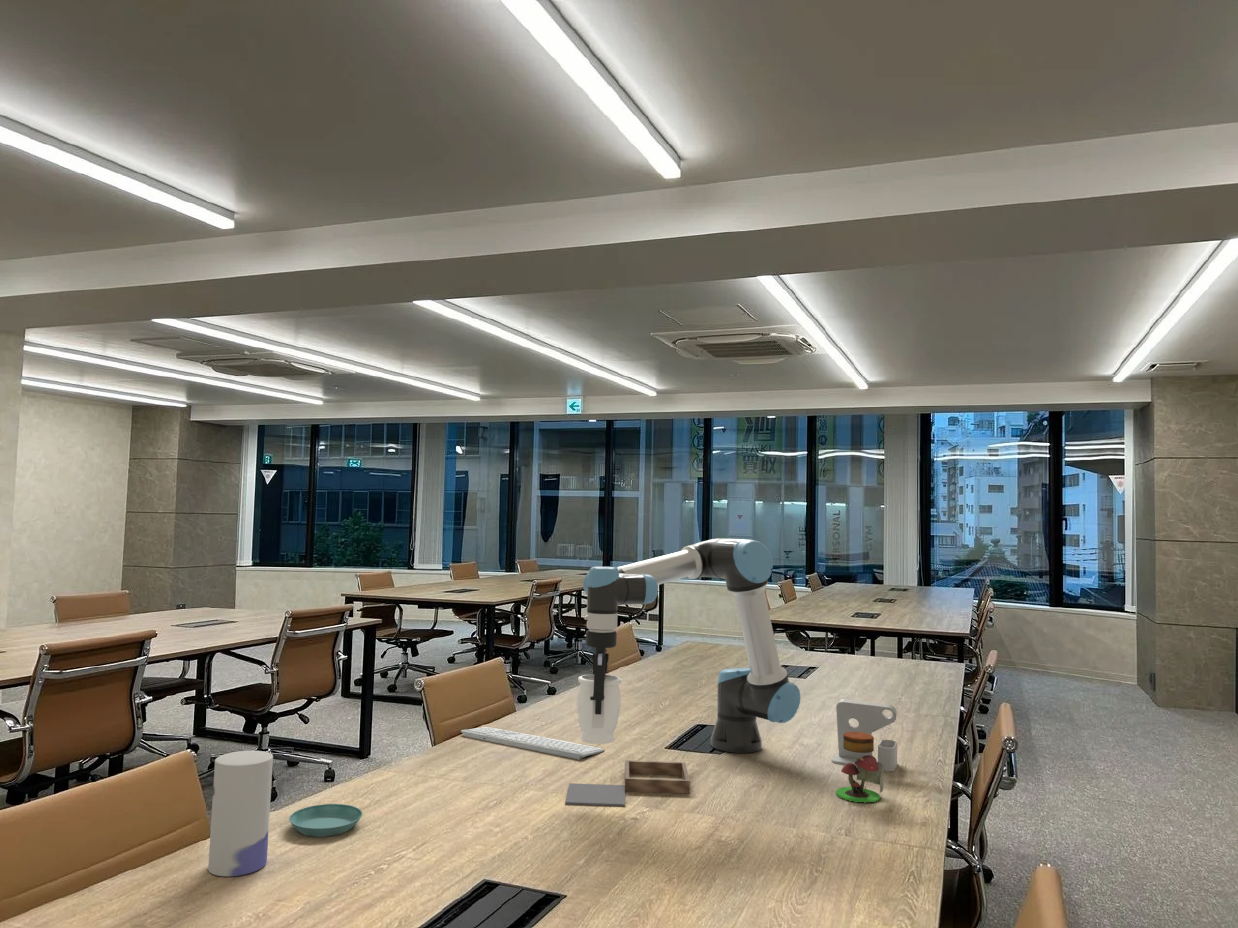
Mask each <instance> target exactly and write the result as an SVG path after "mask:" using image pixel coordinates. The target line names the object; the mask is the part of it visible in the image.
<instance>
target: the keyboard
mask: <svg viewBox="0 0 1238 928" xmlns="http://www.w3.org/2000/svg"><path fill="white" fill-rule="evenodd" d="M460 733H462V735H463V737H465V738H471V739H472V738H473V739H476V740H480V741H481V740H482V741H485V742H492V743H495V744H501V745H504V746H505V745H506V746H510V747H516V748H521V749H526V750H530V751H535V752H540V753H544V754H550V755H555V756H560V757H564V758H569V759H574V760H582V759H584V758H585V757H588V756H592V755H596V754H601V753H603V752H605V748H600V747H596V746H591V745H587V744H585V745H584V744H581V743H575V742H571V741H566V740H561V739H555V738H549V737H544V736H538V735H534V734H528V733H523V732H518V731H517V732H515V731H512V730H511V731H510V730H507V729H501V728H496V727H495V728H494V727H490V726H482V727H476V728H469V729H461V730H460Z"/></svg>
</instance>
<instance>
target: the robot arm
mask: <svg viewBox="0 0 1238 928" xmlns="http://www.w3.org/2000/svg"><path fill="white" fill-rule="evenodd" d="M773 567H774V563H773V556H772V553H771V552H770V550H769V549H768V547H767V546H766V545H765V544H764V543H762V542H761V541H759V540H753V539H749V538H724V537H717V538H716V537H715V538H710V539H708V540H703V541H699V542H697V543H693V544H690V545H689V544H688V545H686V546H683V547H682V548H681V549H680V551H676V552H673V553H669V554H664V555H661V556H656V557H653V558H649V559H645V560H641V561H637V562H634V563H633V562H632V563H629V564H624V565H621V566H617V567H615V566H614V567H613V566H592V567H590V569H589V570H588V572H587V573H586V575H585V576H584V578H583V582H582V585H583V586H582V587H583V591H584V593H585V594H586V595H587V597H586V598H587V600H586V601H587V603H586V605H587V607H586V615H584V617H583V619H584V620H585V621H586V628H587V629H588V630H586V632H585V645H586V647H589V648H595V652H592V656H591V657H592V658H591V659H592V672H593V673H592V674H594V693H593V697H590V700H593V710H592V728H603V723H604V680H605V675H606V674H607V672H608V663H609V658H610V657H609V655H610V653H607V652H608V651H607V649H612V648H615V647H616V646H617V632H616V631H615V630H617V629H618V609H619V607H618V606H623V605H625V606H626V605H641V606H643V605H646V604H651V603H653V602H654V601H655V600H656V598H657V597H658V593H659V589H658V588H659V587H658V586H659V585H662V584H666V583H670V582H674V581H679V580H680V579H684V578H688V579H692V580H694V579H698V578H717V579H721V580H722V579H723V580H725V584H726V588H727V591H728V592H729V593H731V594H733V595H734V599H735V605H736V609H737V614H738V618H739V624H740V628H741V633H742V636H743V641H744V647H745V650H746V656H747V660H748V666H749V667H737V668H736V667H735V668H732V667H731V668H724V669H722V670H720V671H719V674H718V680H717V681H718V682H717V716H716V722H715V724H714V727H713V731H712V734H711V736H710V745H711V747H712V748H714V749H716V750H719V751H722V752H728V753H736V754H749V753H756V752H759V751H760V750H761V749H762V744H763V743H762V741H763V740H762V738H761V734H760V730H759V726H758V724H757V718H760V719H763V720H767V721H769V722H771V723H778V724H786V723H788V722H790V721H791V720H792V719H793V718H794V717H795V716H796V714H797V713H798V709H799V708H800V704H801V691H800V689H799V687H798V686H797V685H796V684H795V683H794V682H791V681H790V680H789V676H788V672H787V669H786V668H784V667H782V666H781V663H780V660H779V654H778V653H779V652H778V650H777V644H776V641H775V633H774V630H773V625H772V621H771V615H770V612H769V611H770V610H769V606H768V602H767V597H766V592H765V588H766V586H767V585H768V584H769V580H768V579H769V578H770V577H771V574H772V570H773ZM596 693H601V694H596Z"/></svg>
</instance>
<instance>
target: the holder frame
mask: <svg viewBox="0 0 1238 928" xmlns="http://www.w3.org/2000/svg"><path fill="white" fill-rule="evenodd" d="M630 774H649V775H672V776H673V775H674V776H679V775H680V776H681V779H676V778H675V779H673V778H670V779H669V778H654V777H653V778H650V777H649V778H648V777H645V778H644V777H630ZM624 785H625V792H636V793H637V792H638V793H639V792H640V793H666V794H667V793H668V794H691V793H690V791H691V790H690V789H691V780H690V776H689V772H688V768H687V764H686V762H685V761H661V760H660V761H659V760H656V761H655V760H631V759H630V760H629V759H625V760H624Z"/></svg>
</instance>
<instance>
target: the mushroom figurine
mask: <svg viewBox="0 0 1238 928" xmlns="http://www.w3.org/2000/svg"><path fill="white" fill-rule="evenodd" d="M874 739H875V737H874V736H873V734H872V735H870V734H867V733H862V732H846V733H844V737H843V748H844V749H846V750H848V751H851V752H857V753H870V752H872V753H874V749H875V746H874V745H875V741H874ZM876 758H877V757H875V756H871V755H866V756H863V757H861V758H857V761H855V764H856V765H857V767H856V766H855V765H854V764H852V763H848V764H846V765H844V766H843V767H841V768H842V769H841V770H840V772H841V773H843V774H845V775H848V783H849V785H850V786H846V787H845V786H844V787H839V788H837V789H836V790H835V795H836V796H837V797H838V796H839V797H838V798H839V799H842V798H843V799H842V800H844V799H845V801H847V800H849V801H848V802H851V801H854V802H853V803H857V802H864V803H863V804H867V803H866V802H874V803H877V802H879V801H880V800H881V795H880V794H881V793H882V792H883V791H884V772H885V771H884V770H883V765H882V764H881V763H879V762H877V760H876ZM854 776H856V780H854ZM857 780H858V781H861V782H860V783H859V782H857ZM865 782H868V783H872V784H875V785H878V786H879V793H878V792H876V791H874V790H872V789H869V788H868V789H867V788H866V786H865ZM879 799H880V800H879ZM878 800H879V801H878ZM876 801H877V802H876Z"/></svg>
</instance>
